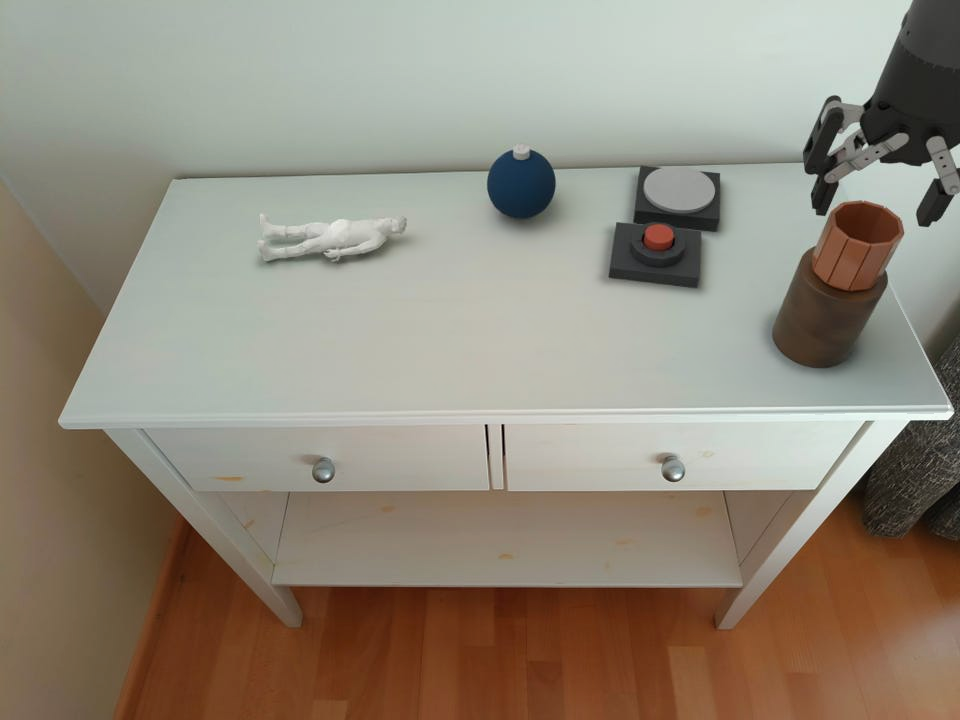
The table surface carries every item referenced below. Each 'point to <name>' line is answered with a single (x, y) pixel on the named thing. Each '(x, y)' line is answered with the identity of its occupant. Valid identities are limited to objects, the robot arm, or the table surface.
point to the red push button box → (656, 256)
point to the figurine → (330, 237)
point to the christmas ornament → (521, 183)
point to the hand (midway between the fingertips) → (870, 215)
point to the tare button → (658, 237)
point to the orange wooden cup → (856, 245)
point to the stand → (822, 317)
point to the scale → (678, 197)
